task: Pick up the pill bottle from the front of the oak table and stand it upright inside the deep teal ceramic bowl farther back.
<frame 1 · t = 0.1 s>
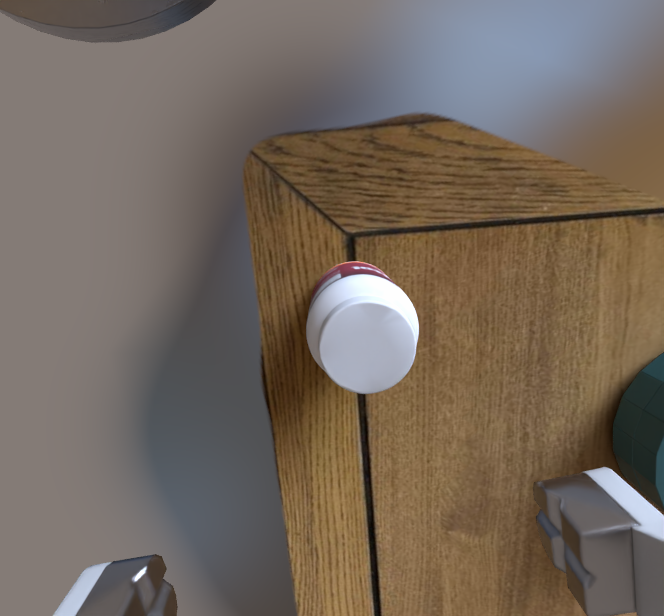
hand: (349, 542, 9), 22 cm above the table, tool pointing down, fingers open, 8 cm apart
pill bottle: (352, 301, 31), on the table
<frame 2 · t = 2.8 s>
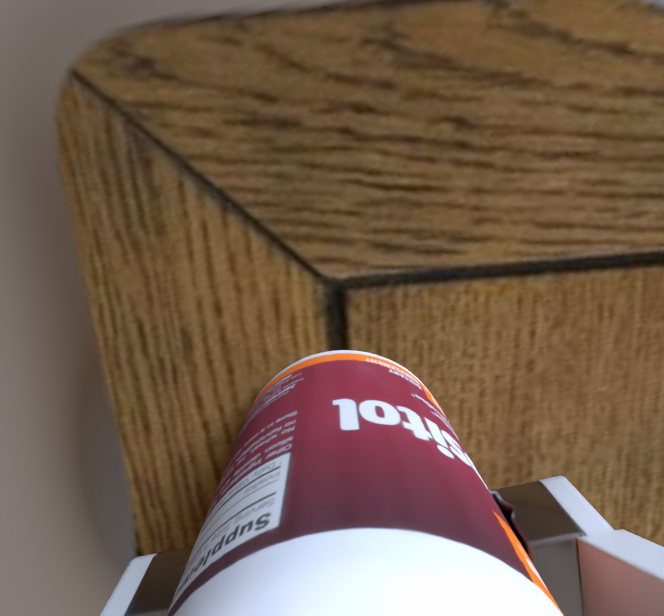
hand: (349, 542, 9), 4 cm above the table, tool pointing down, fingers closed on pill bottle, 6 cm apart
pill bottle: (342, 433, 13), on the table, touching gripper
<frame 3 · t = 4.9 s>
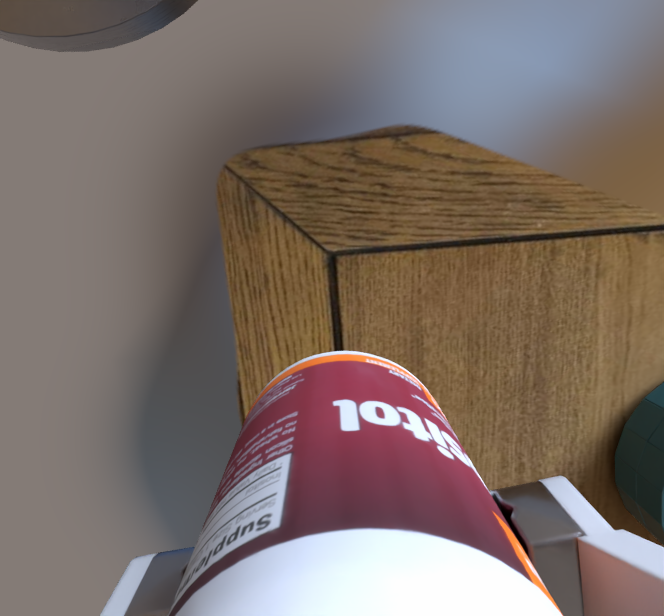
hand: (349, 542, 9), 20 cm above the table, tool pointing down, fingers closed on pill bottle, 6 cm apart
pill bottle: (342, 434, 13), point 16 cm above the table, touching gripper
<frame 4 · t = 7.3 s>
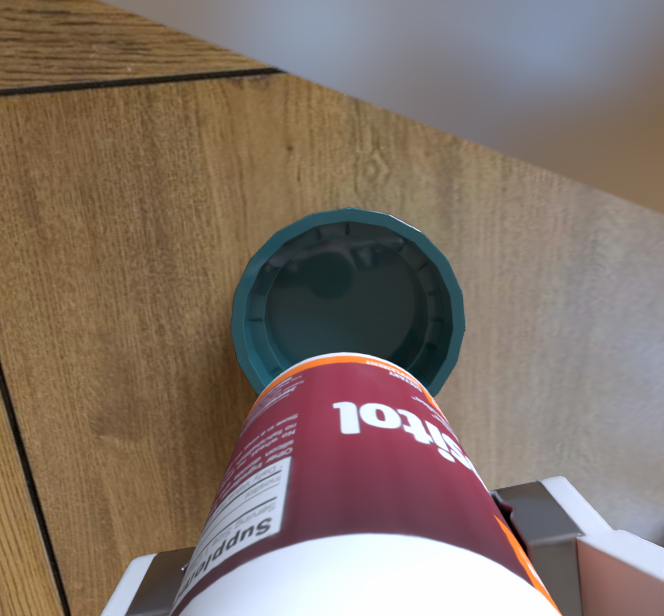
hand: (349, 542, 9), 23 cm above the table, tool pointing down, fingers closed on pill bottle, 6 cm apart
pill bottle: (342, 436, 13), point 18 cm above the table, touching gripper
bowl: (344, 310, 31), on the table
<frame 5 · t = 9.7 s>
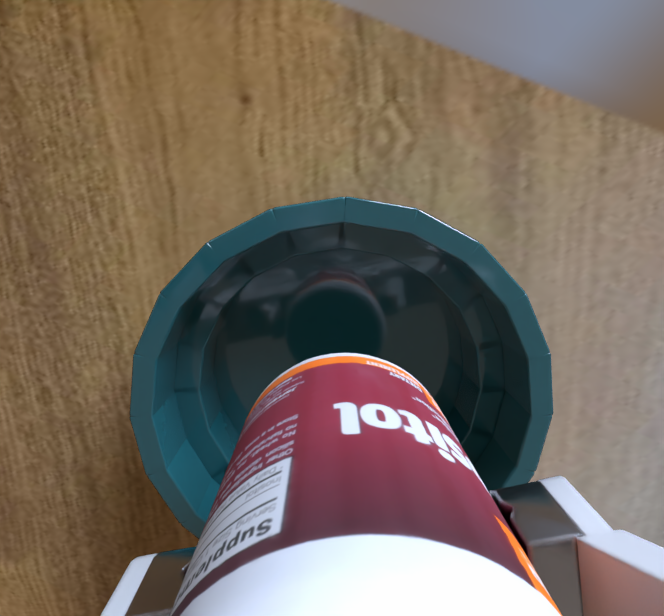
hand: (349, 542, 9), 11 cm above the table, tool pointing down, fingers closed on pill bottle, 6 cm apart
pill bottle: (343, 436, 13), point 6 cm above the table, touching gripper
bowl: (338, 365, 19), on the table
when the fingers open (5 cm above the table, at t = 11.7 s): pill bottle stays where it is, resting on bowl.
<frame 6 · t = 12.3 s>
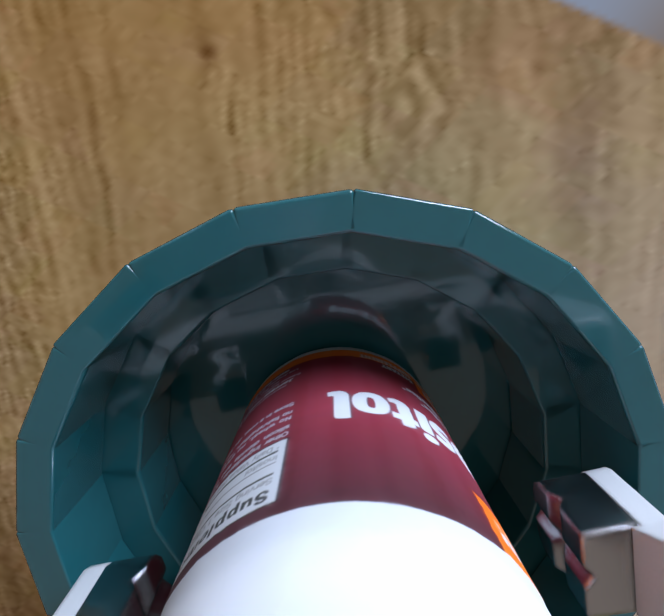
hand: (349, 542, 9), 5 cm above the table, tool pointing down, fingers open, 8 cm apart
pill bottle: (338, 427, 14), resting on bowl
bowl: (340, 422, 14), on the table
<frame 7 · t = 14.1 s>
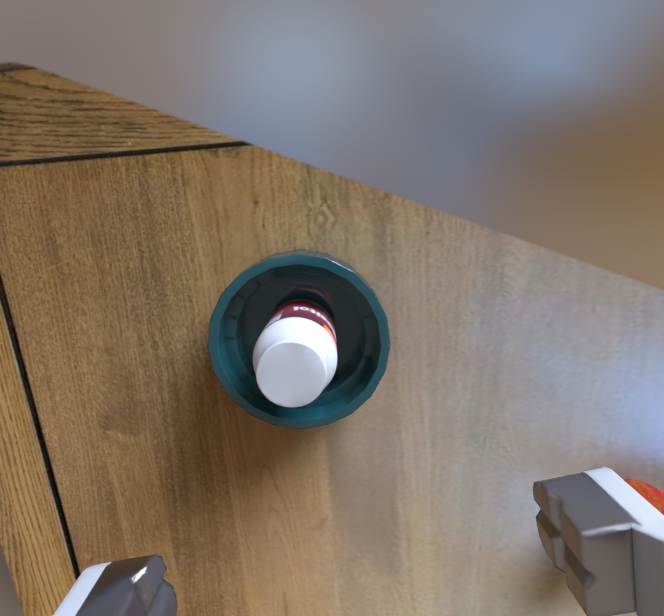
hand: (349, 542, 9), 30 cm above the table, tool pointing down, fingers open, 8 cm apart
fruit: (610, 494, 43), on the table
pill bottle: (301, 330, 38), resting on bowl
bowl: (302, 329, 39), on the table
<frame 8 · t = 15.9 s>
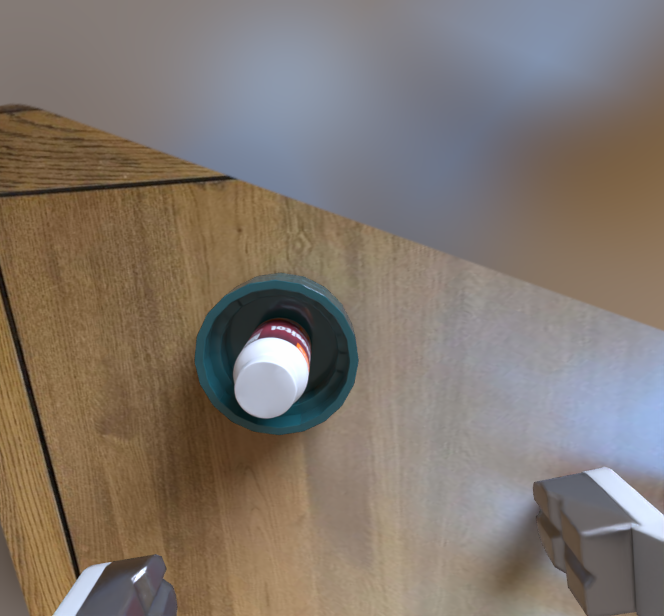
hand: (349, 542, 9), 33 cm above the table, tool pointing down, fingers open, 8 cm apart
pill bottle: (281, 345, 42), resting on bowl
bowl: (282, 344, 43), on the table
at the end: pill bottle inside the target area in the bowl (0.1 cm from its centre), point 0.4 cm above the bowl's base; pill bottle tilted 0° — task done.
